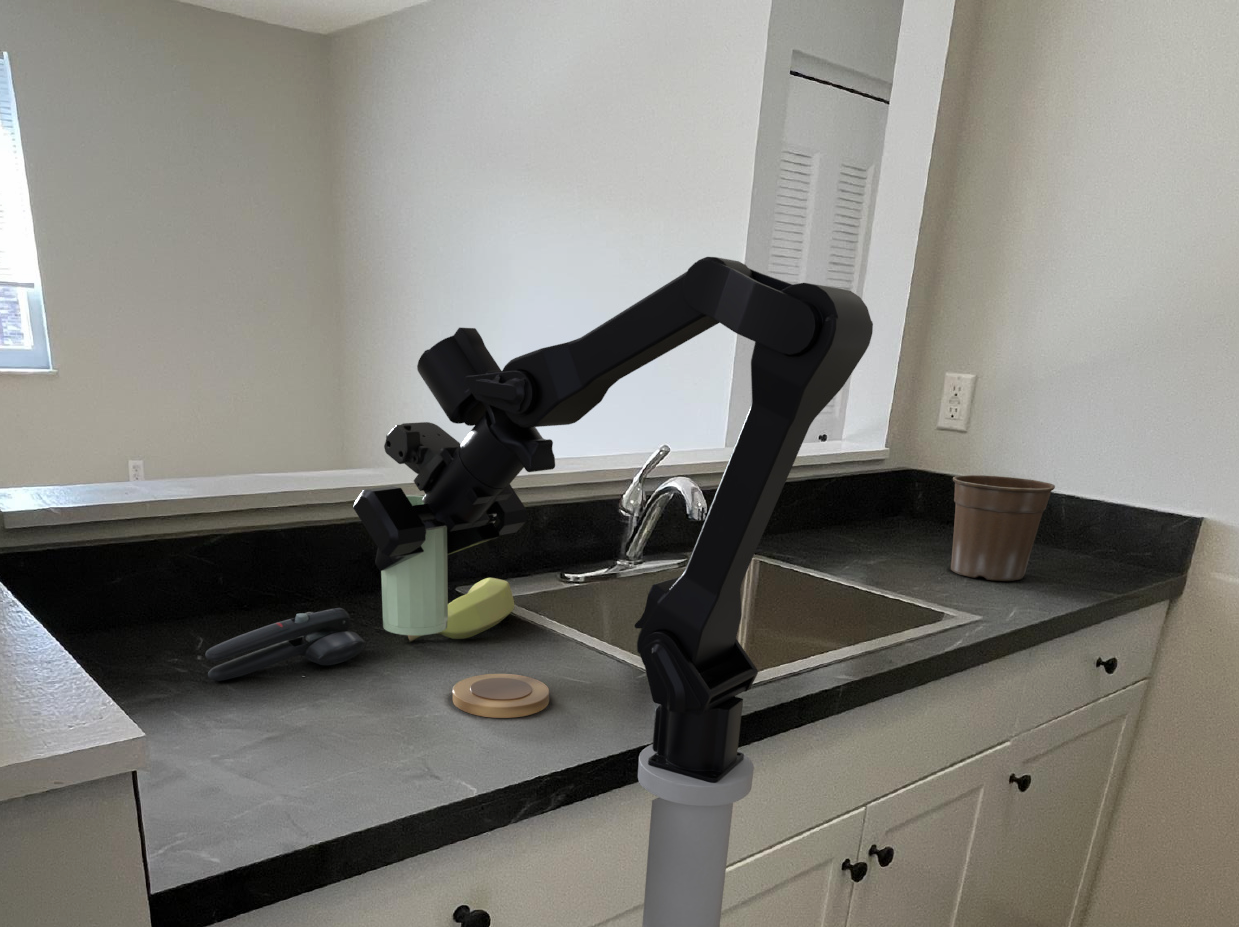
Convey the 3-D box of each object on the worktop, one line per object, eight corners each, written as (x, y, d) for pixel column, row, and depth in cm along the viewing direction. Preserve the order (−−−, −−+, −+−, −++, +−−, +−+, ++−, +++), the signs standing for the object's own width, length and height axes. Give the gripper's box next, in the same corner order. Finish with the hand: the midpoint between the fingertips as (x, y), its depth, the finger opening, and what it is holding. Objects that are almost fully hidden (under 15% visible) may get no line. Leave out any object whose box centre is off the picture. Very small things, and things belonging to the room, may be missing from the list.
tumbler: (450, 634, 99) (449, 506, 95) (384, 636, 98) (379, 506, 93) (444, 616, 105) (443, 495, 101) (381, 618, 104) (377, 494, 99)
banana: (541, 565, 127) (429, 612, 113) (552, 606, 129) (442, 656, 115) (471, 573, 136) (359, 617, 122) (482, 610, 138) (372, 658, 124)
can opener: (340, 644, 116) (337, 598, 114) (372, 659, 112) (370, 611, 110) (192, 673, 104) (187, 623, 102) (221, 692, 100) (217, 639, 98)
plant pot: (917, 565, 174) (933, 474, 169) (984, 561, 181) (1001, 473, 175) (986, 588, 161) (1005, 489, 155) (1055, 582, 167) (1076, 487, 162)
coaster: (567, 697, 103) (567, 685, 103) (512, 726, 95) (513, 713, 95) (490, 677, 108) (490, 666, 107) (432, 703, 100) (432, 691, 99)
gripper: (506, 393, 98) (430, 490, 108) (363, 397, 84) (290, 508, 94) (565, 481, 97) (482, 571, 107) (429, 501, 82) (348, 602, 92)
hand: (405, 561), depth 100 cm, fingers closed on tumbler, 7 cm apart
